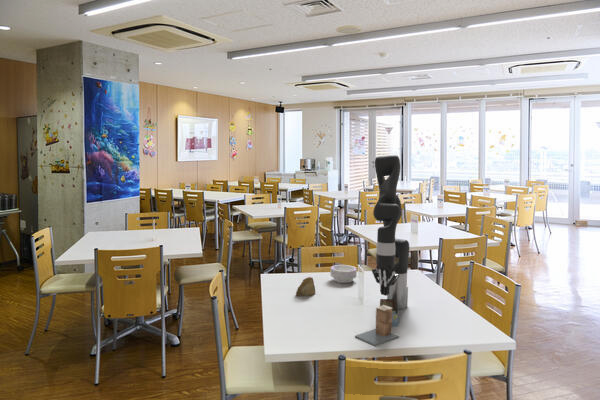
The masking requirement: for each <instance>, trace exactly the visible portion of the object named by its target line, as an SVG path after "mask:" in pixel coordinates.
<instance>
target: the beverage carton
mask: <svg viewBox="0 0 600 400" xmlns="http://www.w3.org/2000/svg"><path fill="white" fill-rule="evenodd" d="M382 305H385V306H388V307H391V308H392V327H399V325H400V324H399V323H400V322H399V321H400V320H399V319H400V318H399V317H400V316H399V315H400V314H399V309H398V306H397V301H396V299H387V298H380V299H379V306H382Z"/></svg>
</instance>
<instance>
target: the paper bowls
mask: <svg viewBox="0 0 600 400" xmlns="http://www.w3.org/2000/svg"><path fill="white" fill-rule="evenodd" d="M357 270H358V269H357V267H356V266H352V265H348V264H336V265H335V264H334V265H332V266H330V277H331V278H333V280H334V281H335V282H336V283H341V284H348V283H351V282H353V280H354V279H356V277H357Z"/></svg>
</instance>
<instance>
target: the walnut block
mask: <svg viewBox="0 0 600 400" xmlns="http://www.w3.org/2000/svg"><path fill="white" fill-rule="evenodd" d="M375 309H376V311H375V329H376V333H377V334H379V335H382V336H387V335H390V334H391V333H392V329H393V328H392V327H393V326H392V308H391V307H388V306H385V305H382V306H380V305H378V306H376V308H375Z"/></svg>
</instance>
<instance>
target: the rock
mask: <svg viewBox="0 0 600 400" xmlns="http://www.w3.org/2000/svg"><path fill="white" fill-rule="evenodd" d="M315 295H316V286H315V280H314V279H313V277H310V276H309V277H308V276H307V277H306V278H304V279H302V282H301V283H300V285H299V286H298V287H297V290H296V292H295V296H297V297H304V296H306V297H307V296H315Z"/></svg>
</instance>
